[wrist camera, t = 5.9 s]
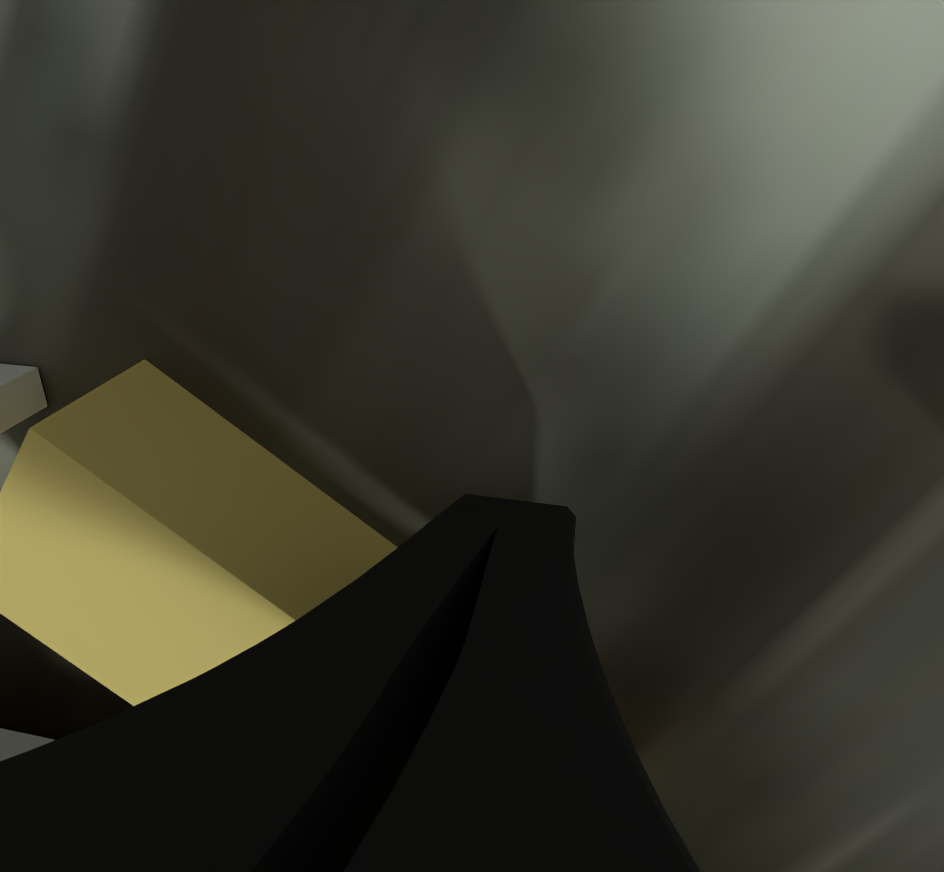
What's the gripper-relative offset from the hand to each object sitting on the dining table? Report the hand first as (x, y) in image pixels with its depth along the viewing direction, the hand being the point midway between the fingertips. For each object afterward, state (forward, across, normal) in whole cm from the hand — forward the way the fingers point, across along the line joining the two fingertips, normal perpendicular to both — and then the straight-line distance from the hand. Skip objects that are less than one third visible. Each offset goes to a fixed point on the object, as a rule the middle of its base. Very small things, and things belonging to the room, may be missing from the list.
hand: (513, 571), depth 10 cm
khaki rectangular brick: (+1, +3, +2) cm, 4 cm away
